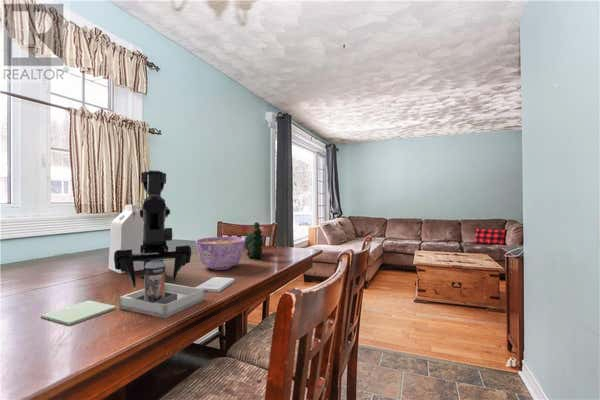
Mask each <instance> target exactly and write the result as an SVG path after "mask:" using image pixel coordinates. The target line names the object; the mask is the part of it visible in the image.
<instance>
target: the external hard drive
mask: <svg viewBox="0 0 600 400" xmlns="http://www.w3.org/2000/svg"><path fill="white" fill-rule="evenodd" d="M235 281H236V279H235V278H234V277H233V278H232V277H218V276H217V277H216V276H213V277H211V278H210V279H207V280H206V281H205V282H203V283H201V284H200V285H197V286H196V287H194V288H200V289H205V292H208V293H219V292H221V291H222V290H224V289H225V288H227V287H229V286H230V285H231V284H233V283H234V282H235Z"/></svg>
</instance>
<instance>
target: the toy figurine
mask: <svg viewBox="0 0 600 400" xmlns="http://www.w3.org/2000/svg"><path fill="white" fill-rule="evenodd" d="M253 227H254V229H253V232H252V233H249V234H248V235H246V237H244V239H245V244H244V248H245V249H246V250H247V252H246V255H247V257H248V259H257V258H259V259H262V258H263V245H264V240H263V236H262V233H263V231H262V229H261V228H260V223H259V222H257V221H256V222H254V224H253Z"/></svg>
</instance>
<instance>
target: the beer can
mask: <svg viewBox="0 0 600 400" xmlns="http://www.w3.org/2000/svg"><path fill="white" fill-rule="evenodd" d="M165 273H166V265H165V263H164V260H163V261H150V262H147V263H146V265H145V278H144V280H143V281H144V288H143V289H144V300H146V301H151V302H155V301H157V300H160V299H162V298H165V283H166V281H165V280H166V275H165Z"/></svg>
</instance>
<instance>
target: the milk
mask: <svg viewBox="0 0 600 400" xmlns="http://www.w3.org/2000/svg"><path fill="white" fill-rule="evenodd" d="M143 225H144V222H143V218H140V213H138V212H137V209H136V205H135V204H125V206H124V210H123V211H122V212H121V213H119V215H118V216H116V217H115V218H114V219H113V220H112V221H111V223H110V229H109V230H110V233H109V234H110V235H109V250H108V266H107V267H108V270H111V271H113V272H115V273H118V274H127V273H126V272H122V271H121V270H117V269H115V263H114V253H115V252H116V251H117V250H122V249H132V254H136V253H140V247H141V244H143ZM133 264H134V272H136V271H144V261H142V262H141V261H134V262H133Z"/></svg>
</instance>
